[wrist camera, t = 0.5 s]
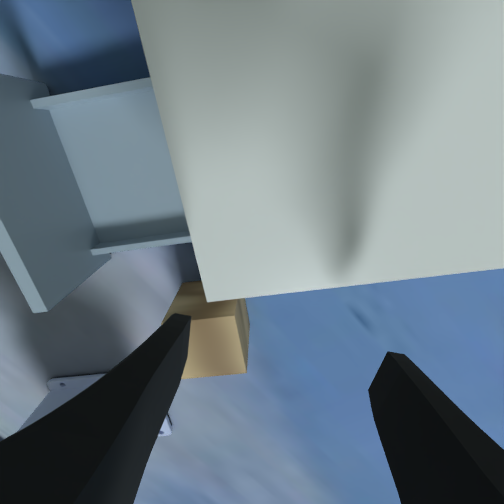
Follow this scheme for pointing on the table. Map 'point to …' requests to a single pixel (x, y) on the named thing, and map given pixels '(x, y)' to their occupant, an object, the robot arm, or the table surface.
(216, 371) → the oak block
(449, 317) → the table surface
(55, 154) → the sliding drawer
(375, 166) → the player box
